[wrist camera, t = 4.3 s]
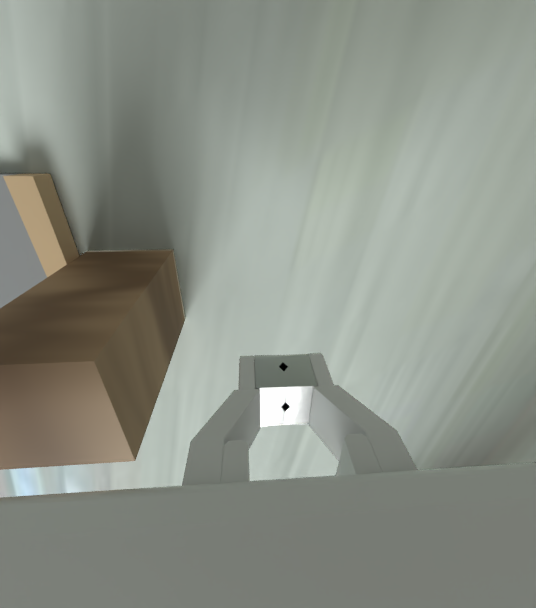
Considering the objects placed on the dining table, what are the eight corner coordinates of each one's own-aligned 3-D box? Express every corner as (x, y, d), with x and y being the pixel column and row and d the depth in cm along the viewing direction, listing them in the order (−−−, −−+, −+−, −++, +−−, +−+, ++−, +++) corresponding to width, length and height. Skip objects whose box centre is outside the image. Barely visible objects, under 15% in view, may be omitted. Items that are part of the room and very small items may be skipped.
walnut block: (173, 249, 15) (94, 360, 7) (185, 318, 17) (135, 460, 9) (88, 250, 15) (-92, 368, 7) (111, 320, 17) (-4, 469, 9)
